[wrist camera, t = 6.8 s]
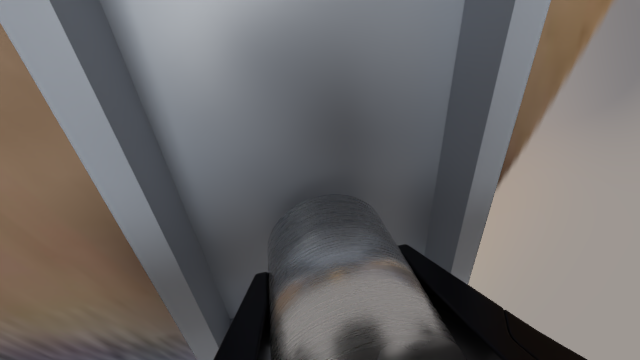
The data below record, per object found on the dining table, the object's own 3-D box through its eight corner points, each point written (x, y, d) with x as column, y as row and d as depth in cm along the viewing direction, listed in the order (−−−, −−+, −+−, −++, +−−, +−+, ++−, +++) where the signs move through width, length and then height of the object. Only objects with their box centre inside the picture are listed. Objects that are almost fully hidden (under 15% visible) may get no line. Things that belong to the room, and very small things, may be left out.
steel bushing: (381, 272, 12) (449, 416, 7) (277, 294, 11) (288, 462, 7) (385, 184, 10) (486, 318, 5) (256, 206, 9) (252, 375, 5)
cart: (442, 269, 16) (476, 315, 14) (198, 321, 15) (184, 384, 12) (574, -354, 6) (798, -621, 4) (-175, -408, 5) (-735, -958, 2)
